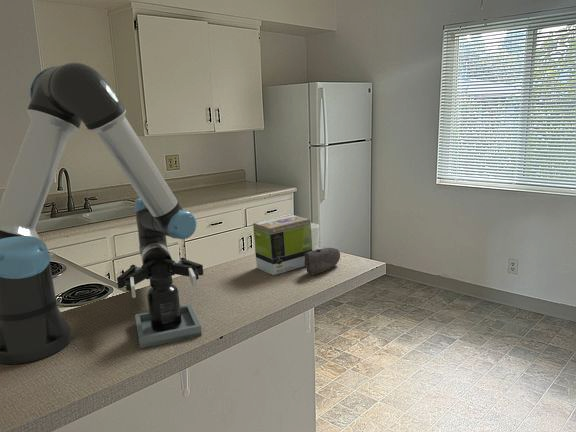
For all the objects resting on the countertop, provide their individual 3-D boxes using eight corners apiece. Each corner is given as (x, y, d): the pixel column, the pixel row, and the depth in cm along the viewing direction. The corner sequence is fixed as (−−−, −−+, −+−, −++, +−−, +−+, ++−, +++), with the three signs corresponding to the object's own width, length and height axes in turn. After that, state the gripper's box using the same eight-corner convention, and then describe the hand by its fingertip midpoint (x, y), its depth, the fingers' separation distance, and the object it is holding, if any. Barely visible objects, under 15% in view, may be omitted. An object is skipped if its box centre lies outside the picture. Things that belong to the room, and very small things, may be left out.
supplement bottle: (185, 319, 110) (180, 270, 108) (176, 333, 104) (170, 281, 101) (157, 319, 111) (151, 271, 108) (146, 333, 104) (139, 282, 102)
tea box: (294, 257, 155) (292, 213, 151) (313, 265, 146) (312, 218, 143) (255, 267, 146) (252, 221, 143) (272, 276, 138) (270, 227, 135)
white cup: (307, 260, 151) (305, 230, 149) (291, 255, 157) (289, 226, 155) (324, 254, 156) (324, 225, 154) (308, 249, 162) (307, 221, 160)
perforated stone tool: (334, 262, 148) (333, 241, 146) (346, 266, 144) (346, 244, 143) (298, 275, 138) (297, 252, 137) (311, 279, 135) (310, 256, 133)
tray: (140, 348, 99) (139, 338, 99) (136, 323, 111) (135, 314, 111) (201, 335, 104) (200, 325, 103) (191, 313, 116) (190, 304, 115)
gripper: (204, 266, 132) (220, 292, 112) (109, 281, 124) (108, 312, 104) (201, 240, 130) (217, 262, 111) (105, 253, 122) (104, 280, 103)
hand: (164, 286), depth 107 cm, fingers open, 13 cm apart
